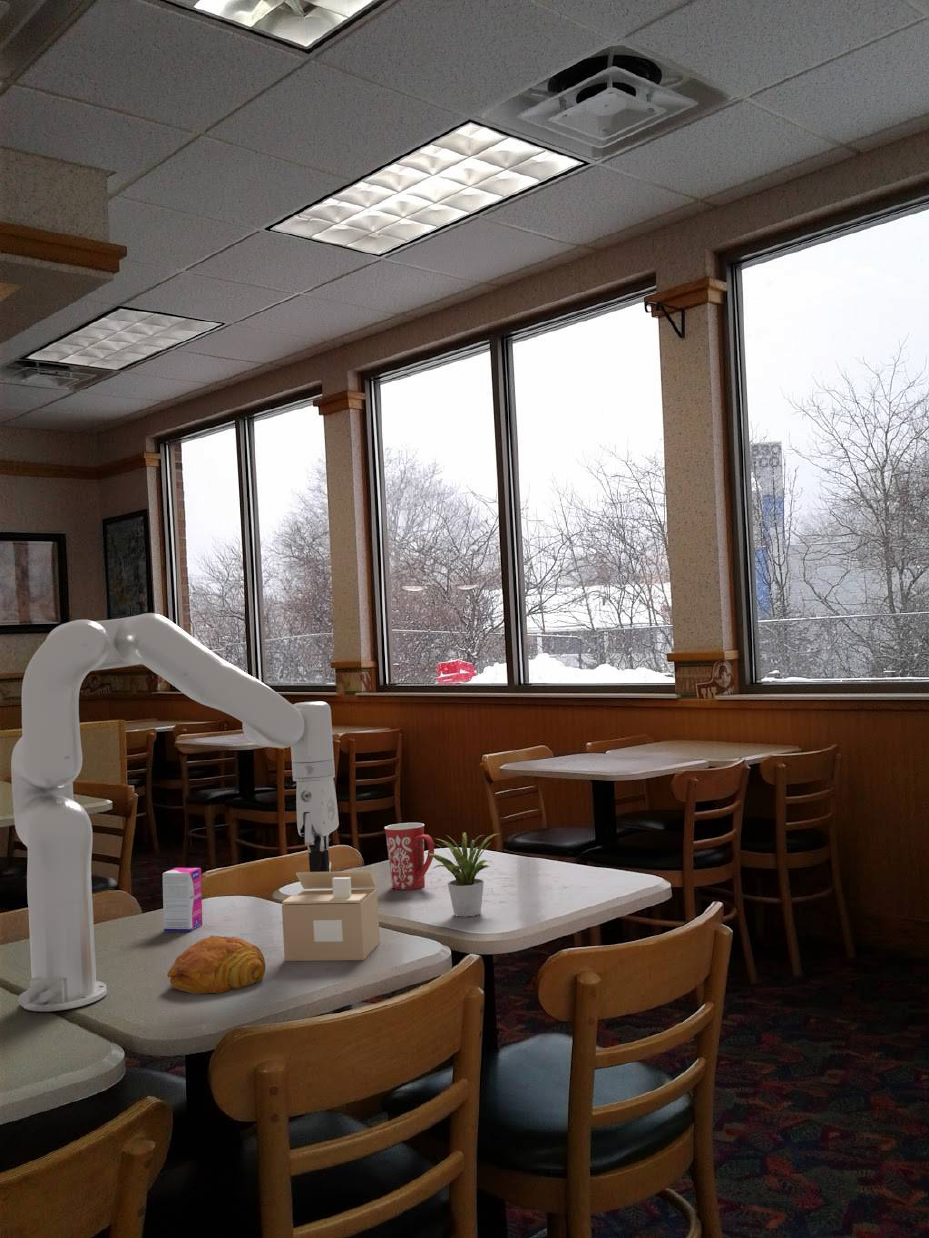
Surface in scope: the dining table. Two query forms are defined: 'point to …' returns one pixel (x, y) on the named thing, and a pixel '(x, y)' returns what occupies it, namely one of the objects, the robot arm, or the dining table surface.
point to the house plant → (465, 877)
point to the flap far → (325, 878)
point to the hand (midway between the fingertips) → (319, 873)
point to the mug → (408, 854)
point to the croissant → (217, 966)
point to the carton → (331, 928)
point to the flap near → (339, 894)
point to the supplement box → (182, 899)
